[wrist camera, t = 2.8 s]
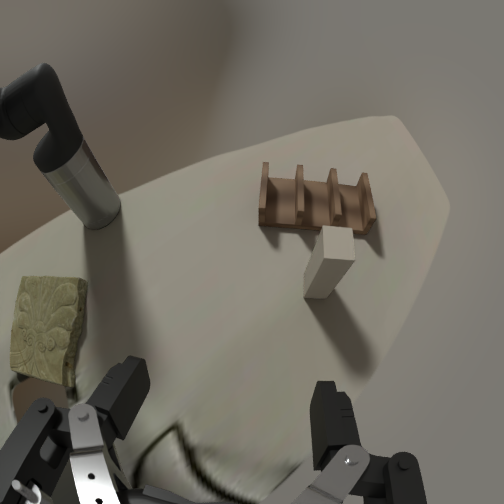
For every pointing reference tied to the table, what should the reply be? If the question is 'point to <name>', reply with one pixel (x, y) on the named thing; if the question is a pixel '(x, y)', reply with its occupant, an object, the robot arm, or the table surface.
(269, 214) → the drying rack
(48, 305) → the decorative tile
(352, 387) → the table surface
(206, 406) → the table surface
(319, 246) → the white rectangular block
